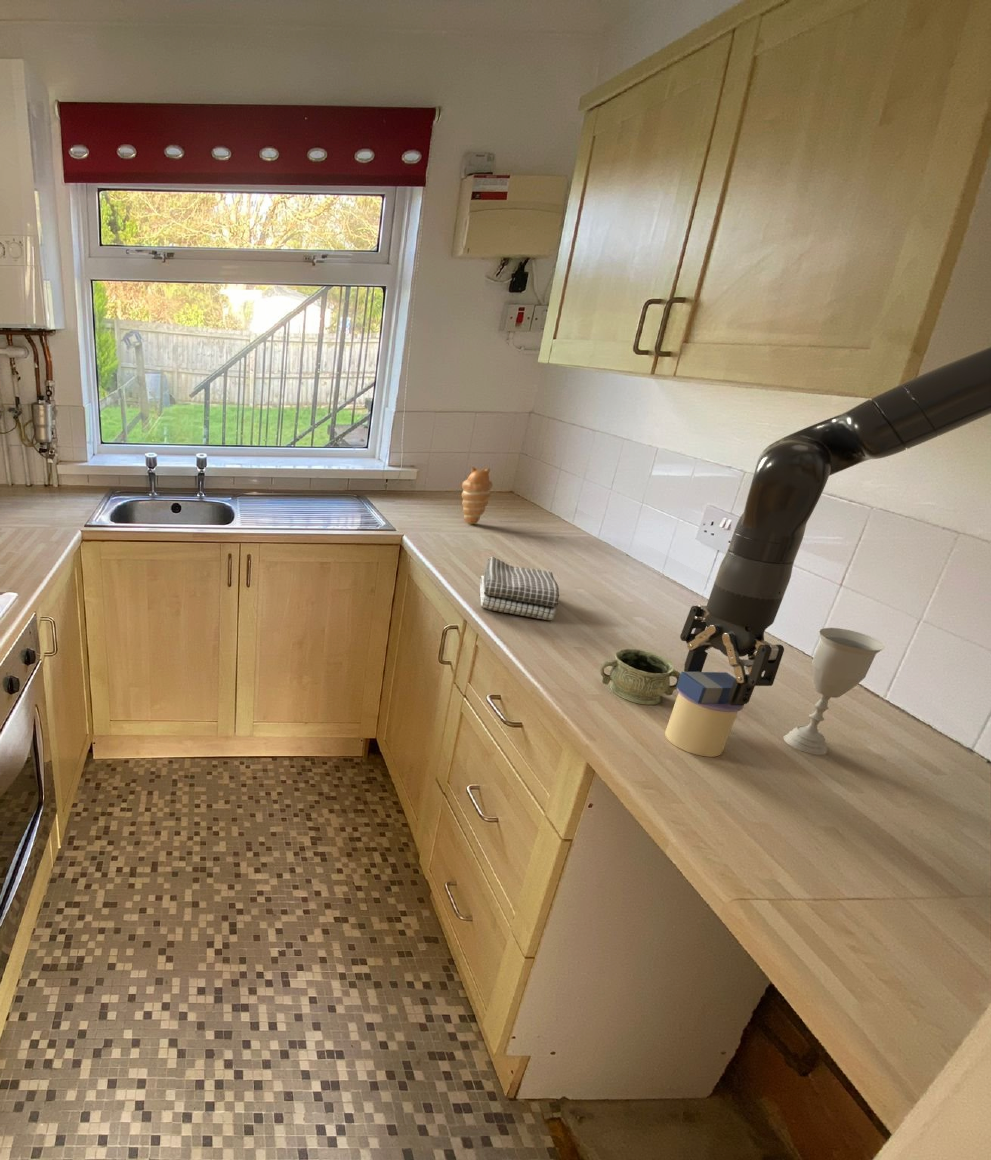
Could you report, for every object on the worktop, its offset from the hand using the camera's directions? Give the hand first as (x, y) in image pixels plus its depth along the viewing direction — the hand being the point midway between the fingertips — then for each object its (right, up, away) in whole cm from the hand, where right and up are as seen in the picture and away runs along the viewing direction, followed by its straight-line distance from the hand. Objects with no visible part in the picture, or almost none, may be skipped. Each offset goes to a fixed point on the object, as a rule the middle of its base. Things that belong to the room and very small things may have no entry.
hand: (712, 688), depth 93 cm
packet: (0, -1, 0) cm, 1 cm away
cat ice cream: (+8, +34, +109) cm, 115 cm away
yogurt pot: (0, -9, +4) cm, 9 cm away
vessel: (-1, -4, +16) cm, 17 cm away
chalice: (+17, -9, +4) cm, 20 cm away
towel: (-5, +10, +51) cm, 53 cm away
